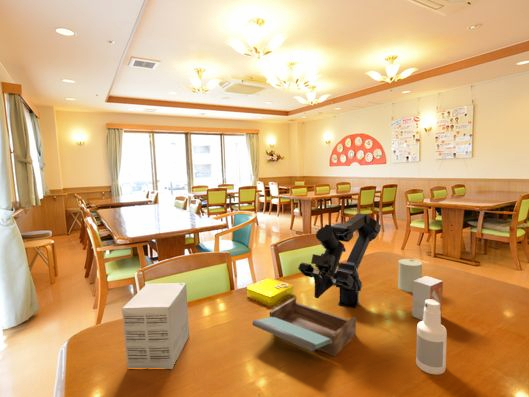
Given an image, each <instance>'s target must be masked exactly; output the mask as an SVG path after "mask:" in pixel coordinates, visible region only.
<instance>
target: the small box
mask: <svg viewBox="0 0 529 397" xmlns="http://www.w3.org/2000/svg"><path fill="white" fill-rule="evenodd" d="M443 288H444V280H441V279H437V278H434V277H431V276H428V275H425V276H422V278H419V279H417V280H414V281H413V293H412V310H411V313H412V314H411V316H412V317H414V318H416V319H418V320H420V321H423V316H424V307H425V300H427V299H433V300H435V301H436V302H438V303H439V304H440V311H441V316H442V309H443Z"/></svg>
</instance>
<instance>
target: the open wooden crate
mask: <svg viewBox="0 0 529 397" xmlns="http://www.w3.org/2000/svg"><path fill="white" fill-rule="evenodd" d="M269 317H276V318H278V319H281V320H283V321H286V322H288V323H291V324H294V325H296V326H299V327H301V328H304V329H306V330H309V331H312V332H314V333H317V334H319V335H322V336H324V337H327V338H330V343H329V344H327V345H324V346H322V347H320V348H317V349H316V350H319V351H321V352H324V353H326V354H328V355H331V356H333V357H336V356H337V355H338V354H339V353H340V352H341V351H342V350H343V349H344V348H345V347H346V346H347V345H348V344H350V342H351V341H352V340H353V339H354V338H355V337H356V336H357V331H356V330H357V325H356V324H357V323H356V322H357V320H356V319H357V318H356V317H355V316H352V317H350V318H349V319H347V318H344V317H341V316H338V315H335V314H333V313H329V312H327V311H323V310H320V309H316V308H314V307H310V306H307V305H306V304H302V303H298V302H297V299H296V298H295V297H292V298H290V299H289V300H288V301H285V302H284V303H282V304H280V305H278V306H277V307H275V308H274V309H272V310H270V311H269Z"/></svg>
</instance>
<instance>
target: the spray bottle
mask: <svg viewBox="0 0 529 397" xmlns="http://www.w3.org/2000/svg"><path fill="white" fill-rule="evenodd" d="M441 318H442V315H441V311H440V304H439V303H438V302H436V301H435V300H433V299H427V300H425V307H424V316H423V320H420V321H419V322H418V323H417V324H416V325H417V326H416V356H415V358H416V359H415V362H416V366H417V368H419V369H420V370H421V371H423V372H424V373H427V374H430V375H435V376H436V375H442V374H444V373H445V371H446V366H447V365H446V364H447V363H446V362H447V335H448V334H447V329H446V327H445V326H444V325H443V324H441V323H442V319H441Z"/></svg>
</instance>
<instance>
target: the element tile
mask: <svg viewBox="0 0 529 397" xmlns="http://www.w3.org/2000/svg"><path fill="white" fill-rule="evenodd" d="M293 296H294V285H293V284H291V283H288V282H284V281H282V280H278V279H275V278H271V277H267V278H264V279H262V280H260V281H257V282H255V283H253V284H250V285H248V286H247V287H246V297H247V298H248V297H249V298H248V299H250V298H251V299H250V300H253V299H254V301H255V300H256V302H258V301H259V302H258V303H260V304H263V303H264V304H263V305H266V306H268V305H270V306H269V307H272V306H273V305H274V306H276V305H277V303H278V304H280V303H281V301H282V302H284V301H286V300H287V299H289V298H291V297H293ZM285 299H286V300H285ZM283 300H284V301H283ZM279 302H280V303H279ZM274 306H273V307H274Z"/></svg>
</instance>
